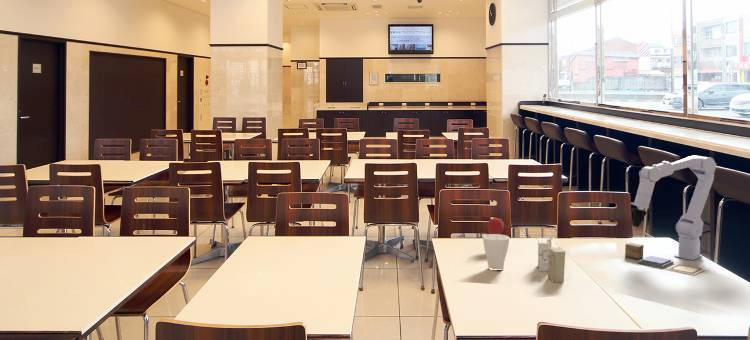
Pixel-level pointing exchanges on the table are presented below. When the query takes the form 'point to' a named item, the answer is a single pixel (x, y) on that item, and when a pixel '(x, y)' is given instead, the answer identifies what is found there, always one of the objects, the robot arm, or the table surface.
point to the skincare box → (556, 264)
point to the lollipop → (495, 226)
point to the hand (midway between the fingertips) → (635, 226)
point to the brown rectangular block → (634, 251)
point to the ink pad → (656, 262)
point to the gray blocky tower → (543, 253)
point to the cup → (496, 249)
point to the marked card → (685, 269)
